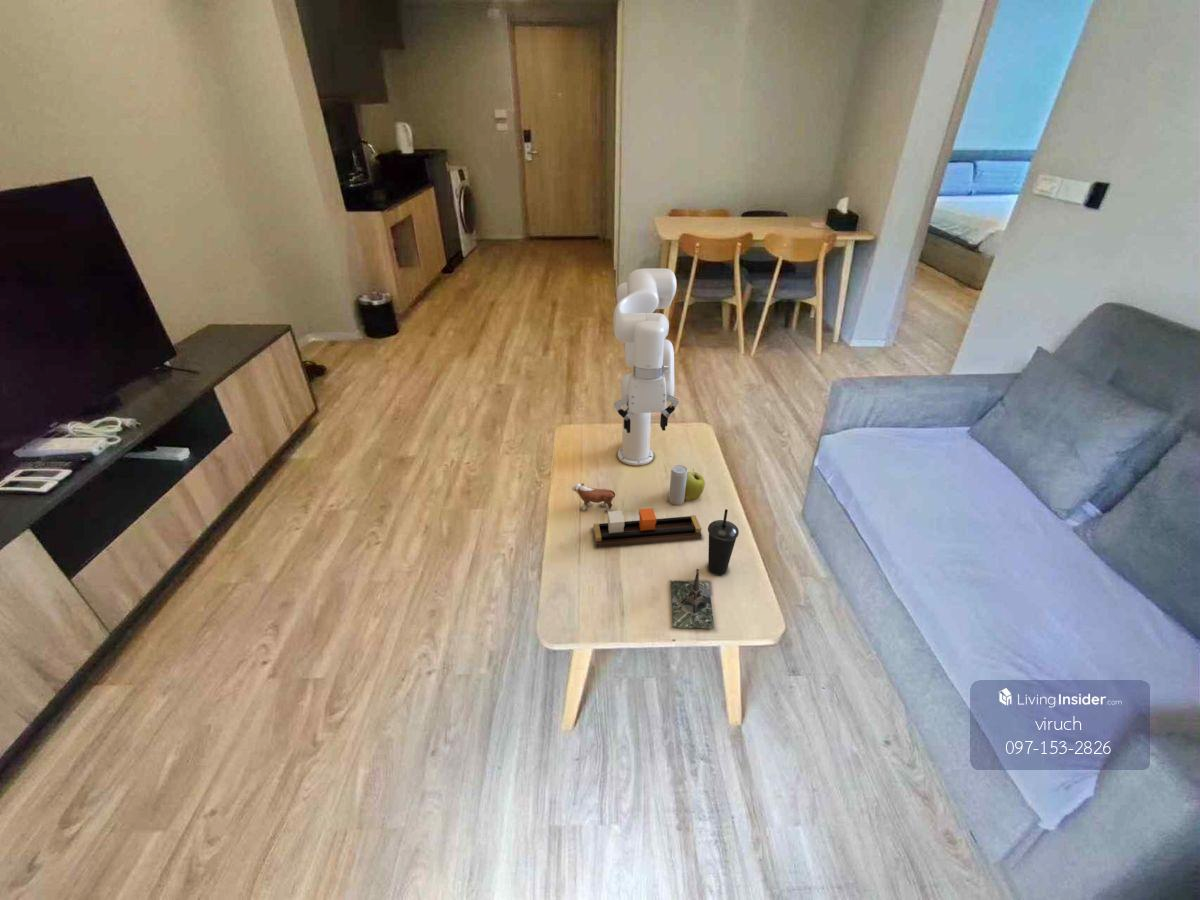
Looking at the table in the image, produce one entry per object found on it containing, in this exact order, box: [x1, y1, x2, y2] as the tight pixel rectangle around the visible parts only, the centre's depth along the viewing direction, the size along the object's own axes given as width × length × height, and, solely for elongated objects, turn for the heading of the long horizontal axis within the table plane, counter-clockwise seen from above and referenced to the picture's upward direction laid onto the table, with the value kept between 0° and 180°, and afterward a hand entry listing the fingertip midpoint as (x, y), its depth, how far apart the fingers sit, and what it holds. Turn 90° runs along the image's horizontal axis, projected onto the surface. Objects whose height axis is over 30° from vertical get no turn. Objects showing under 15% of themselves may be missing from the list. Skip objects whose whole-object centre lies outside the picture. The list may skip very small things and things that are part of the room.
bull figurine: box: [571, 482, 616, 513], centre depth 162 cm, size 4×13×8 cm, turn 78°
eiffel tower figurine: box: [670, 568, 715, 629], centre depth 129 cm, size 15×10×13 cm
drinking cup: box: [707, 508, 740, 576], centre depth 137 cm, size 8×8×20 cm
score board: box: [592, 522, 702, 549], centre depth 154 cm, size 8×30×2 cm, turn 97°
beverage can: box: [668, 464, 688, 506], centre depth 164 cm, size 5×5×12 cm
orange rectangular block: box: [638, 507, 657, 531], centre depth 152 cm, size 5×4×6 cm
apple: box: [685, 468, 706, 501], centre depth 167 cm, size 8×8×10 cm
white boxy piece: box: [607, 510, 625, 534], centre depth 151 cm, size 5×4×6 cm
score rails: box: [593, 514, 702, 541], centre depth 153 cm, size 6×30×2 cm, turn 97°
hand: (645, 429), depth 146 cm, fingers open, 9 cm apart
